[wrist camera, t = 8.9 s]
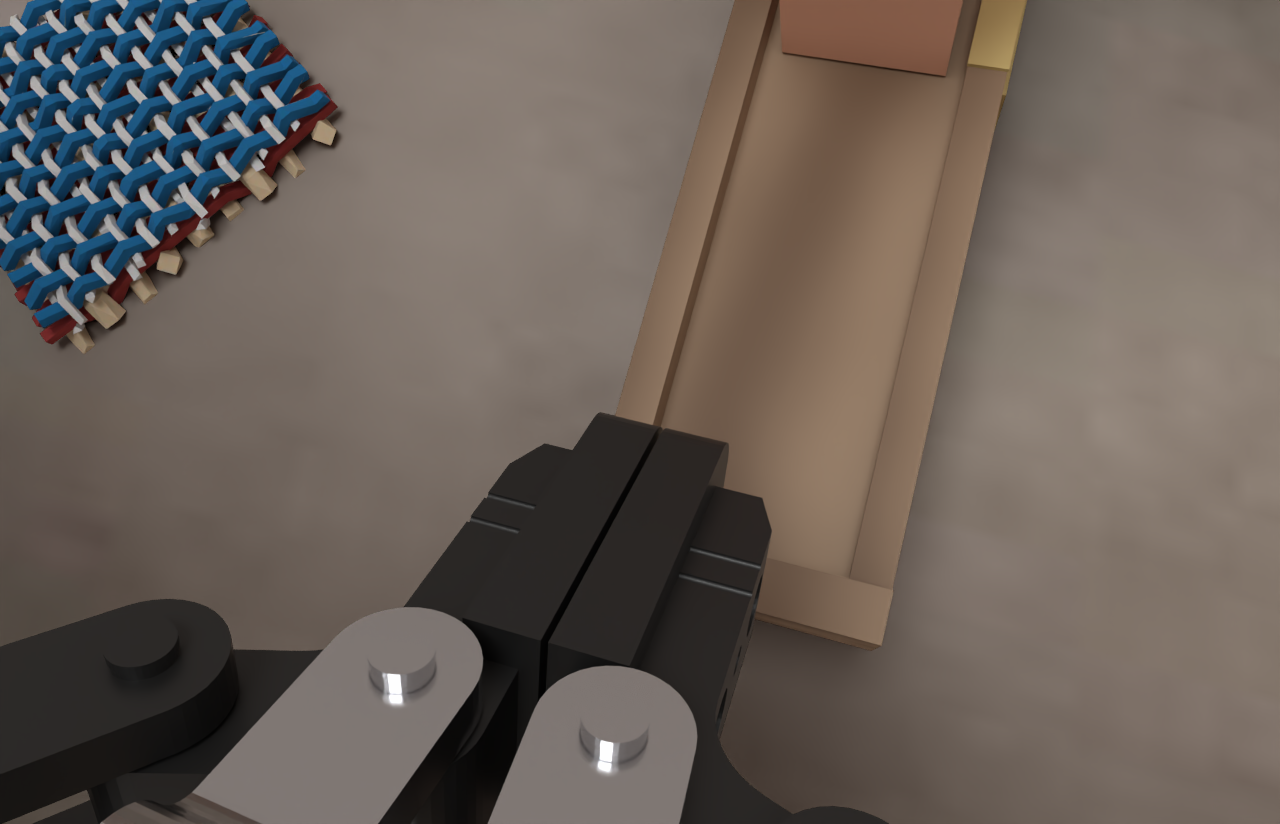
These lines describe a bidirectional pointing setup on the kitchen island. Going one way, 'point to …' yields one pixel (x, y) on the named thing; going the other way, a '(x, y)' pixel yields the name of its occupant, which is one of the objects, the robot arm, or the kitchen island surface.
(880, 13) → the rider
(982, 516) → the kitchen island surface
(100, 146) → the woven mat
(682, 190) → the beam
